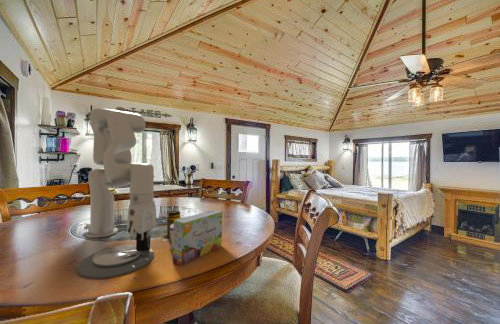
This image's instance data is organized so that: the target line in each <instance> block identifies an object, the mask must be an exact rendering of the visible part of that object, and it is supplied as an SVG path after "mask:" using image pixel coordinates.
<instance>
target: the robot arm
mask: <svg viewBox="0 0 500 324" xmlns="http://www.w3.org/2000/svg"><path fill="white" fill-rule="evenodd" d="M89 123H90V126H91V127H90V128H91V130H92V132H93V152H92V153H93V154H92V156H93V157H92V158H93V163H94V164H95V165H98V166H103V167H100V168H99V167H98V168H94V169H91V170H90V171H89V172H88V175H87V179H88V184H89V191H90V193H89V194H90V210H89V211H90V214H89V215H90V222H89V223H87V224H85V226H84V227H83V229H84V230H87V232H86V233H85V236H86V238H91V239H95V238H96V239H97V238H99V239H100V238H104V237H109V236H113V235H115V234H117V233H118V231H119V230H118V228H117V227H115V195H114V193H113V192H112V191H111V190H110V189H109V188H119V187H126V186H128V185H129V205H128V209H127V210H128V211H127V220H126V224H127V226H126V230H127V233H129V239H134V240H135V245H136V250H137V251H145V250H147V238H148V236H149V235H150V232H151V231H152V230H153V229H154V228H155V227H156V226H157V207H156V202H155V200H154V199H155V198H154V187H155V186H154V178H155V177H154V174H155V173H154V171H155V170H154V165H153V164H152V163H144V162H133V161H132V160H133V158H132V156H133V155H132V151H131V149H133V148H134V147H135V146H136V145H137V138H136V135H135V134H141V133H143V132H145V130H146V121H145V118H144V117H143V116H142V115H141V114H139V113H135V112H134V113H133V112H129V111H122V110H117V109H109V108H104V107H102V108H101V107H98V108H96V107H95V108H92V110H90V114H89Z"/></svg>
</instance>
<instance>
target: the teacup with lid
mask: <svg viewBox="0 0 500 324" xmlns="http://www.w3.org/2000/svg"><path fill="white" fill-rule="evenodd" d="M173 227H174V224H172V225H170V227H169V229H170V240H169V249H170V250H171V251H173Z"/></svg>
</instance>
